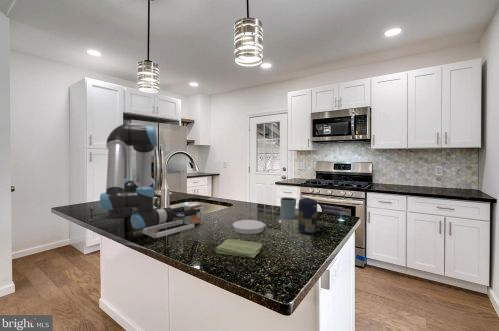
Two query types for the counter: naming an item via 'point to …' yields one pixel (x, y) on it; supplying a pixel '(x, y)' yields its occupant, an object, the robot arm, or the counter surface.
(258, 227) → the lid
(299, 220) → the canister
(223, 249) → the washcloth
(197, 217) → the small box
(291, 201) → the drinking glass
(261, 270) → the counter surface
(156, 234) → the guide channel
